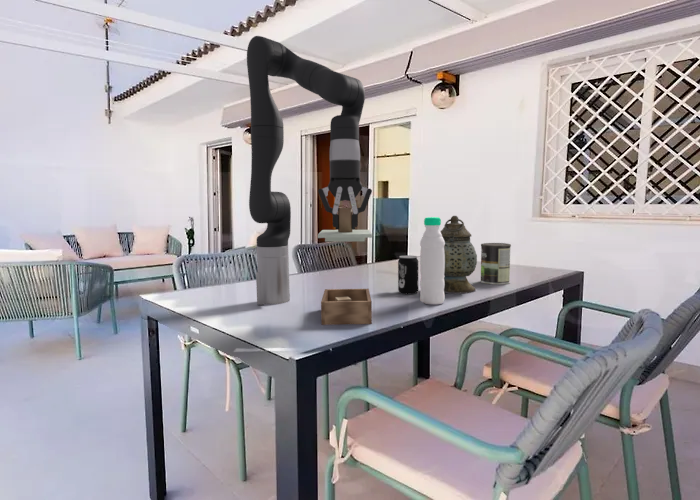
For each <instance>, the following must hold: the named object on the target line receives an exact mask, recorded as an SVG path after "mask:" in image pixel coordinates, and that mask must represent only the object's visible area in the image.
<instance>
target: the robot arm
mask: <svg viewBox="0 0 700 500" xmlns="http://www.w3.org/2000/svg"><path fill="white" fill-rule="evenodd" d="M246 66H247V78H248V86H249V99H250V100H249V101H250V143H251V144H250V146H251V167H250V168H251V171H250V183H249V184H250V186H249V196H248V197H249V199H248V206H249V214H250V217H251V219H252V220H253V221H254V222H255V223H257V224H267V225H266V229H265V230H264V232H263V233H261V234H260V235H258V236H257V237H256V259H257V260H256V262H257V263H256V265H257V272H255V273H256V274H255V279H256V280H255V282H256V284H255V285H256V305H259V306H264V305H281V304H286V303H289V302H290V301H291V292H290V291H291V290H290V268H289V267H290V266H289V265H290V264H289V263H290V261H289V260H290V259H289V238H290V236H291V225H292V224H291V223H292V221H291V220H292V219H291V216H292V214H291V213H292V211H291V208H292V207H291V202H290V200H289V197H288V195H286V193H284V192H282V191H272V186H271V185H272V176H273V175H272V174H273V171H274V168H275V166H276V164H277V161H278V160H279V158H280V155H281V154H282V151H283V149H284V140H285V139H284V133H285V132H284V130H285V129H284V122H283V118H282V115H281V113H280V110H279V108H278V106H277V104H276V102H275V100H274V98H273V96H272V92H271V89H270V83H269V77H278V78H286V79H290V80H292V81H295V82H296V84H298V85H299V87H301V88H302V89H305V90H307V91H309V92H311V93H312V94H315V95H317V96H319V97H320V98H321V99H323V100H325V101H327V102H328V103H330V104H333V105H337V106H341V112H340V114H339V115H338V114H337V115H335V116H333V117H332V118H331V120H330V146H329V182H328V185H327V186H326V187H323V188H319V189H318V190H317V192H318V195H319V198H320V200H321V203H322V206H323V208H324V211H326V212H327V213H330V214H332V227H333V228H335V230H338V208H340V204H341V202H343V201H348V202H350V205H351V208H352V230H356V228H358V223H359V222H358V220H359V217H358V215H359V214H360V213H362V212H365V211H366V208H367V205H368V203H369V201H370V199H371V195H372V193H373V192H372V191H373V190H372V189H371V188H367V187H365V186H363V184H362V182H361V147H360V122H361V121H360V120H361V117H362V115H363V114H362V113H363V108H364V105H365V100H366V91H365V87H364V84H363V83H362V81H361V80H360V79H358V78H356V77H353V76H350V75H347V74H344V73H340V72H338V71H335V70H332V69H331V68H330V67H327V66H325V65H324V64H320V63H319V62H315V61H312V60H309V59H306V58H304V57H300V56H299V55H297V54H296V53H294V52H293V51H292V50H291V49H289V48H288V47H287V46H285V45H284V44H282V43H281V42H279V41H276V40H274V39H270V38H267V37H264V36H261V35H255V36H253V37H252V38H251V39H250V40H249V42H248V46H247V50H246ZM361 191H362V192H361ZM329 192H330V193H331V195H332V196H333V197H334V204H333V207H331V206H330V204H329V202H328V201H329V200H328V198H327V197H328V195H329V194H328V193H329ZM360 192H361V193H362V196H363V200H362V203H361V205H360V206H359V207H357V201H356V198H357V196H359V195H358V194H360Z"/></svg>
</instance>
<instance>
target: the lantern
mask: <svg viewBox="0 0 700 500" xmlns="http://www.w3.org/2000/svg"><path fill="white" fill-rule="evenodd" d="M449 222H450V223H449ZM459 222H460V223H459ZM443 226H444V227H443V228H442V229H441V230H439V231H440V232H441V234H442V237H443V239H444V241H445V246H444V254H445V270H444V282H445V286H444V294H456V295H461V294H473V293H474V292H476V290H477V289H476V287H474V286H473V285H472V284H471V283H470V281H468V279H467V277H470V276H471V275H472V274H473V273H474V271H475V270H476V266H477V263H478V254H477V252H476V249H475V246H474V245H473V244H472V242H471V237H472V234H471V232H470V231H469V230H468V229H467V228H466V226H465V222H464V221H463V220H461V219H460V218H459V216H457V215H452V216H451V217H450V218H449V219H447V221H446V222H445V224H444V225H443Z"/></svg>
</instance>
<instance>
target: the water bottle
mask: <svg viewBox="0 0 700 500" xmlns="http://www.w3.org/2000/svg"><path fill="white" fill-rule="evenodd" d="M441 223H442V221H441V218H440V217H439V216H438V217H433V216H431V217H424V220H423V224H424V227H425V230H424V232H423V233H422V234H423V235H422V237H421V238H420V241H419V245H420V258H419V259H420V261H419V266H420V270H419V273H420V282H419V286H420V293H419V300H420V302H422V304H424V305H431V306H437V305H438V306H439V305H441V304H443V303H444V302H445V293H444V286H445V282H444V277H445V276H444V270H445V254H444V246H445V241H444V239H443V237H442V234H441V232H440V231H441V230H440V228H441Z"/></svg>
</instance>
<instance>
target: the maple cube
mask: <svg viewBox="0 0 700 500" xmlns="http://www.w3.org/2000/svg"><path fill="white" fill-rule="evenodd" d="M335 301H351V298H349V297H348V296H347V297H335Z"/></svg>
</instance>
